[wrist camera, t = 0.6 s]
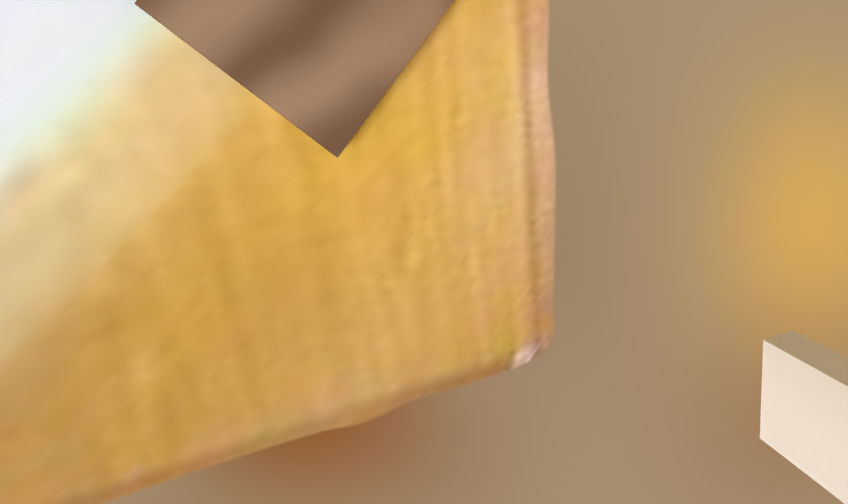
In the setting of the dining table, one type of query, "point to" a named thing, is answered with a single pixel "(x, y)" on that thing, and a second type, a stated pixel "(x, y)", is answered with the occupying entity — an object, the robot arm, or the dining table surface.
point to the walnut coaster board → (307, 52)
